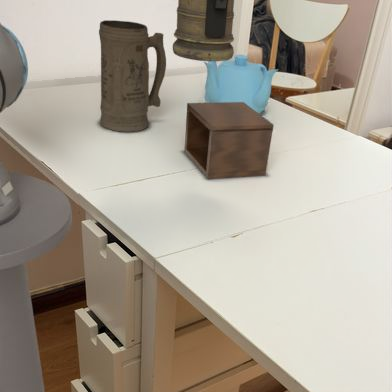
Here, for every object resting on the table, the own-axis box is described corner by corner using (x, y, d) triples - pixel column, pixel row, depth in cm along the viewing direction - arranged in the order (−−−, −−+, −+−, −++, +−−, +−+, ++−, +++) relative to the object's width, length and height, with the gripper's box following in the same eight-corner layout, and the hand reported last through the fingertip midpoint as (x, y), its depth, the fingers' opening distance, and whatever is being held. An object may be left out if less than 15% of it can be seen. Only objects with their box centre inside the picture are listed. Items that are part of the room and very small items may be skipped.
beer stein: (116, 135, 113) (120, 27, 101) (87, 121, 119) (88, 17, 107) (170, 129, 122) (180, 29, 110) (142, 116, 128) (148, 20, 116)
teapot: (199, 117, 128) (203, 60, 120) (200, 96, 142) (204, 44, 134) (270, 123, 128) (279, 67, 120) (264, 101, 142) (272, 50, 134)
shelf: (207, 179, 99) (212, 126, 93) (184, 151, 109) (187, 103, 103) (265, 175, 103) (273, 124, 97) (237, 149, 113) (243, 101, 107)
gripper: (288, -204, 55) (256, 45, 69) (219, -184, 70) (205, 16, 84) (220, -214, 53) (202, 44, 67) (164, -192, 68) (160, 15, 82)
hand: (204, 29), depth 76 cm, fingers closed on container, 8 cm apart
